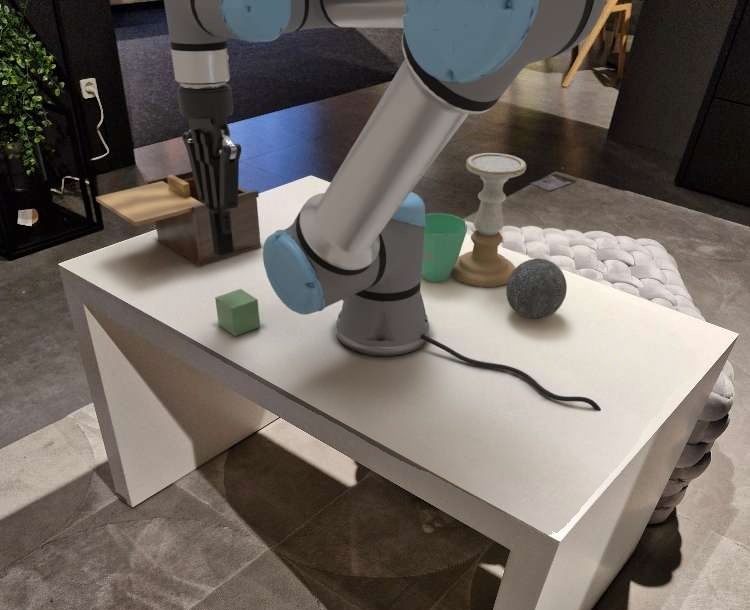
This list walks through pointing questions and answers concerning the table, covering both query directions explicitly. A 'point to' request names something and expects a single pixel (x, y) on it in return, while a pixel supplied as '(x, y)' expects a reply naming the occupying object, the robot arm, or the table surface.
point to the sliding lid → (151, 201)
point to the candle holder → (488, 222)
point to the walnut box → (209, 226)
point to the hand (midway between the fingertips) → (224, 252)
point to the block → (237, 312)
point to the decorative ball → (536, 289)
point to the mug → (441, 245)
